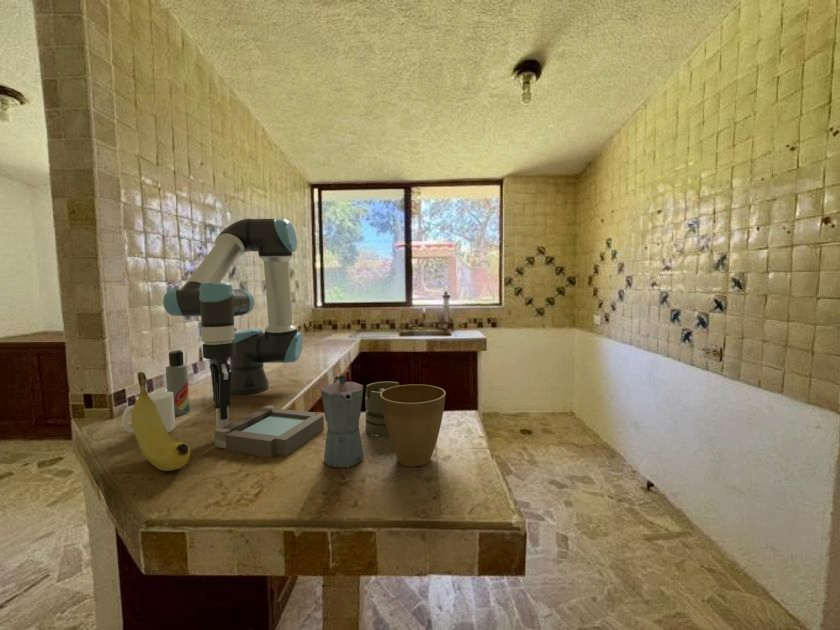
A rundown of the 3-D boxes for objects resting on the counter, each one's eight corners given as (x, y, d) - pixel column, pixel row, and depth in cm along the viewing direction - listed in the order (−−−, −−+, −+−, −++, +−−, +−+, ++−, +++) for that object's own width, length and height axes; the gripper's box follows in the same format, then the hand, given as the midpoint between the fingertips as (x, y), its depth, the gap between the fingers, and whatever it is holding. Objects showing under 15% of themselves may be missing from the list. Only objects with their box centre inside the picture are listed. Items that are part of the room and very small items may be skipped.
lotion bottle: (193, 412, 118) (189, 350, 117) (173, 417, 113) (170, 353, 112) (184, 408, 121) (181, 348, 120) (165, 413, 116) (161, 351, 115)
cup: (181, 429, 104) (179, 394, 103) (130, 445, 94) (128, 406, 93) (166, 423, 108) (164, 389, 107) (116, 438, 98) (113, 401, 97)
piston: (398, 380, 111) (411, 389, 100) (398, 419, 112) (411, 432, 101) (361, 383, 107) (370, 394, 96) (361, 424, 108) (371, 439, 97)
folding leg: (267, 419, 111) (267, 405, 110) (277, 421, 110) (276, 406, 109) (215, 446, 92) (214, 429, 92) (226, 448, 91) (225, 430, 91)
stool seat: (278, 421, 109) (278, 408, 109) (326, 427, 105) (326, 413, 105) (226, 450, 90) (225, 434, 90) (282, 459, 86) (281, 442, 86)
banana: (200, 473, 80) (195, 382, 78) (170, 485, 75) (164, 388, 73) (156, 447, 92) (152, 368, 91) (128, 456, 88) (123, 373, 86)
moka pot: (330, 479, 77) (328, 385, 75) (314, 450, 91) (312, 370, 89) (373, 468, 81) (372, 379, 80) (352, 442, 95) (351, 365, 93)
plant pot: (437, 443, 94) (437, 382, 93) (452, 473, 79) (453, 400, 78) (379, 448, 91) (378, 385, 90) (383, 479, 77) (382, 404, 76)
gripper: (241, 343, 93) (245, 433, 95) (228, 337, 103) (232, 419, 105) (207, 346, 88) (212, 442, 90) (197, 340, 98) (202, 426, 100)
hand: (223, 429), depth 98 cm, fingers closed
